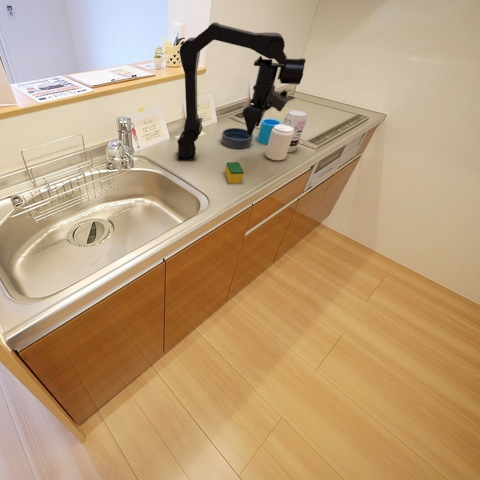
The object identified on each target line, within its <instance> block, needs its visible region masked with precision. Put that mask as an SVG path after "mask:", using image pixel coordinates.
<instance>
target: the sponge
mask: <svg viewBox="0 0 480 480" xmlns="http://www.w3.org/2000/svg"><path fill="white" fill-rule="evenodd" d="M225 165H226V166H225V170H224V171H225V172H224V175H225V177H226V179H227V182H228V184H242V181H243V177H244V173H245V172H244V169H243V167H242V165H241V163H240V161H232V162H231V161H227V162H226V164H225Z"/></svg>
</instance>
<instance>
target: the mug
mask: <svg viewBox="0 0 480 480" xmlns="http://www.w3.org/2000/svg"><path fill="white" fill-rule="evenodd" d="M277 124H282V122H281V121H280V120H278V119H273V118H263V119H262V120H261V122H260V125H259V131H258V135H257V138H256V139H257V142H258V143H260V144H263V145H268V142H269V138H270V135H271V131H272V129H273V128H274V126H275V125H277Z"/></svg>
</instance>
